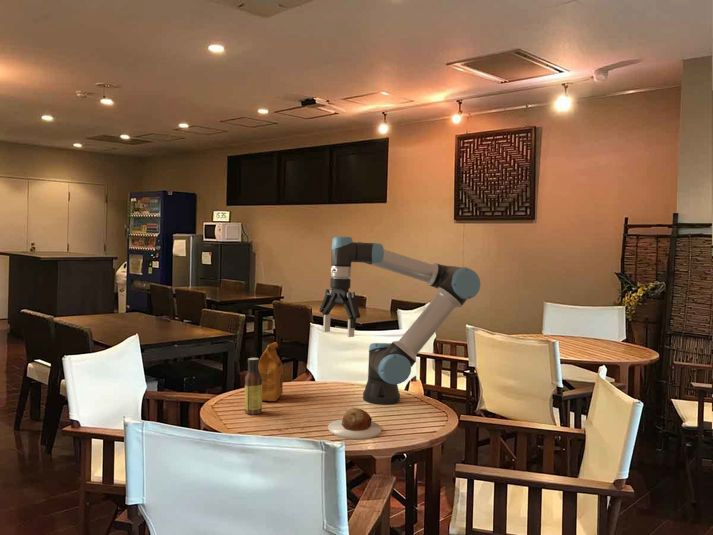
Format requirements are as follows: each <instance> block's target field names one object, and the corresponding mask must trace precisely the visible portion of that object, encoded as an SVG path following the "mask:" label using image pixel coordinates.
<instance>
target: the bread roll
mask: <svg viewBox="0 0 713 535" xmlns="http://www.w3.org/2000/svg"><path fill="white" fill-rule="evenodd" d="M342 419H343V420H342V424H341V425H342V426H343V427H344V428H345V429H347V430H352V431H361V430H367V429H369V428H370V426H371V423H372V422H373V421H372V420H373V419H372V417H371V414H369V412H367V411H366V410H363V409H362V408H358V407H352V408H350V409H348V410H346V411H345V412H344V414H343V418H342ZM371 421H372V422H371Z"/></svg>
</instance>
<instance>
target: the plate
mask: <svg viewBox="0 0 713 535" xmlns="http://www.w3.org/2000/svg"><path fill="white" fill-rule="evenodd" d="M342 420H343V418H342V419H341V418H340V419H337V420H334V421H331V422H329V424H328V425H327V431H328V430H329V431H328V433H329V432H331V433H332V434H334V435H333V436H335V435H336V436H335V437H337V436H338V438H341V439H347V440H349V439H350V440H366V439H367V440H368V439H373V438H376V437H378V436H379V435H381V434H382V426H381V425H380V424H378V423H377V422H374V421H372V420H371V422H372V423H371V426H370V428H369V429H367V430H361V431H352V430H347V429H345V428H344V427H343V426H342V425H341V424H342ZM331 433H330V434H331ZM332 434H331V435H332Z"/></svg>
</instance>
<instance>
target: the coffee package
mask: <svg viewBox="0 0 713 535" xmlns="http://www.w3.org/2000/svg"><path fill="white" fill-rule="evenodd" d="M278 346H279V344H278V343H277V341H275V342H272V343H269V344H267V347H266V348H265V350H264V352H263V353H262V354H261V356H260V358H259V363H258V369H259V373H260V376H261V380H262V402H276V401H277V400H278V399H279V398H280V397H281V396H282V394H283V391H284V390H283V389H284V388H283V387H284V386H283V383H284V368H283V363H282V360H281V359H280V356H279V355H278V353H277V349H276V348H277V347H278Z"/></svg>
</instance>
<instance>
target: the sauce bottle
mask: <svg viewBox="0 0 713 535" xmlns="http://www.w3.org/2000/svg"><path fill="white" fill-rule="evenodd" d="M259 360H260V358H258V357H250V358H247V364H248V365H247V373H246V374H245V376H244V409H245V410H244V413H245V414H248V415H259V414H261V413H262V412H263V410H262V409H263V401H262V380H261V376H260V373H259V369H258V363H259Z"/></svg>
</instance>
